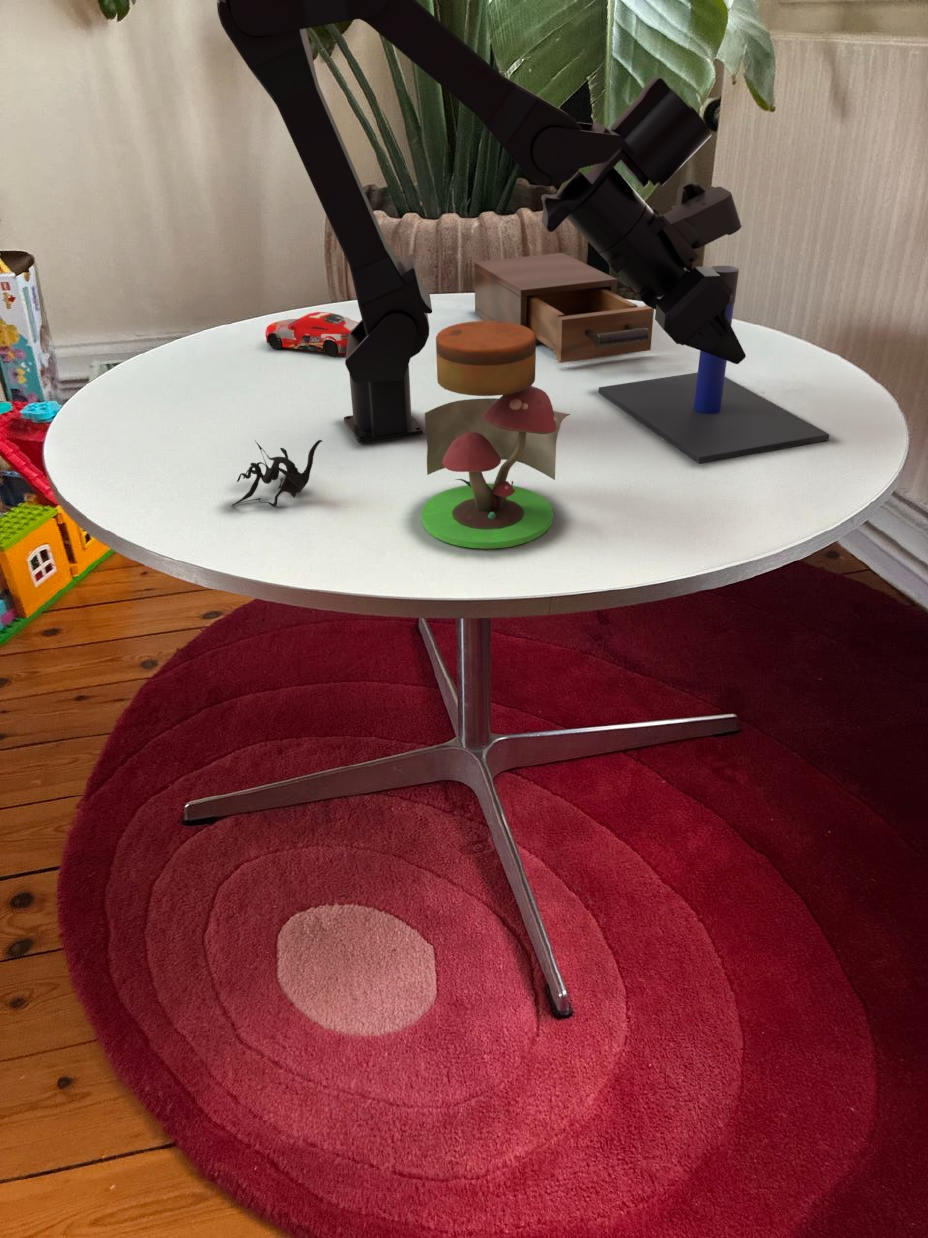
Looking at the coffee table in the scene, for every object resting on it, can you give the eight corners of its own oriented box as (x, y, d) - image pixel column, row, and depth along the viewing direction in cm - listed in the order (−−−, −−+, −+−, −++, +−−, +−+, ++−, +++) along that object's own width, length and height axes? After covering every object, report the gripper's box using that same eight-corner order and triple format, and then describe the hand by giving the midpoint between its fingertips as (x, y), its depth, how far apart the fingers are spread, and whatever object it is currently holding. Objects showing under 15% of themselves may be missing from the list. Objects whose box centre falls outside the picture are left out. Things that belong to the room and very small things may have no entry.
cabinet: (613, 333, 121) (617, 278, 117) (520, 345, 117) (520, 289, 114) (560, 302, 133) (562, 252, 129) (474, 313, 130) (474, 261, 126)
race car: (257, 348, 119) (253, 315, 117) (282, 335, 123) (278, 303, 121) (351, 359, 114) (348, 325, 112) (373, 346, 118) (371, 313, 116)
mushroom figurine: (582, 548, 74) (593, 354, 66) (418, 556, 74) (408, 362, 66) (559, 483, 84) (565, 307, 76) (414, 489, 84) (405, 313, 76)
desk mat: (828, 439, 91) (829, 433, 91) (698, 463, 87) (699, 457, 87) (712, 375, 107) (713, 369, 107) (598, 392, 103) (598, 387, 103)
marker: (717, 415, 95) (736, 273, 88) (690, 411, 96) (706, 270, 89) (723, 406, 97) (741, 266, 90) (696, 402, 98) (712, 264, 91)
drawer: (667, 360, 109) (672, 316, 106) (575, 373, 106) (577, 329, 103) (594, 317, 123) (596, 278, 121) (511, 328, 120) (511, 288, 118)
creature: (214, 516, 83) (281, 518, 78) (193, 456, 80) (262, 454, 76) (275, 482, 88) (341, 482, 84) (258, 425, 86) (325, 422, 81)
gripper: (722, 171, 76) (833, 309, 83) (665, 141, 92) (762, 259, 98) (616, 278, 80) (730, 401, 87) (578, 232, 96) (677, 339, 102)
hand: (726, 344), depth 93 cm, fingers open, 9 cm apart
